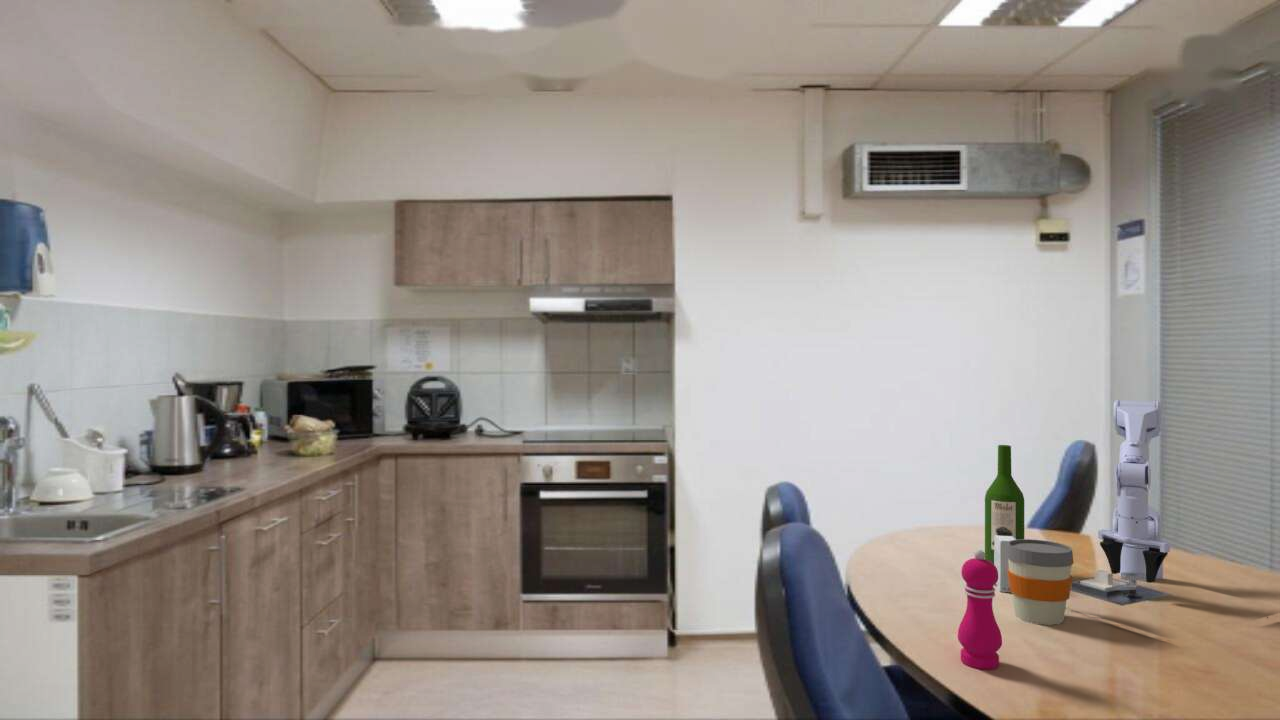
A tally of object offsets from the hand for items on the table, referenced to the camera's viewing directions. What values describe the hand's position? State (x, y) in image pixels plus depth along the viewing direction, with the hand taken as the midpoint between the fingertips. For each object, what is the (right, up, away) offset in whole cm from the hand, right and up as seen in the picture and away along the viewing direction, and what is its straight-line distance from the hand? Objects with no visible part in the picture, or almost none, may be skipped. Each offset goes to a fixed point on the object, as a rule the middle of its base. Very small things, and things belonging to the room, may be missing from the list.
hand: (1132, 577), depth 171 cm
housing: (-2, -5, +4) cm, 7 cm away
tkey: (-1, -4, 0) cm, 4 cm away
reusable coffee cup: (-27, -5, -11) cm, 30 cm away
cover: (-3, -4, +6) cm, 8 cm away
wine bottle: (-19, -6, +20) cm, 28 cm away
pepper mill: (-50, -5, -35) cm, 61 cm away
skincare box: (-24, -6, +9) cm, 26 cm away
